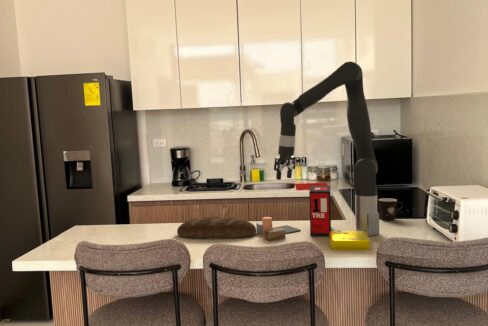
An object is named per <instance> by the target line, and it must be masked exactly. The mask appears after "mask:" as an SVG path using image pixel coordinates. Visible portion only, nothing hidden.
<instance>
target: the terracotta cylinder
mask: <svg viewBox="0 0 488 326" xmlns="http://www.w3.org/2000/svg"><path fill="white" fill-rule="evenodd" d="M261 222H262V228H263V234H262V237H264V238H265V230H271V229H272V228H273V217H270V216H264V217H262V218H261Z"/></svg>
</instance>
